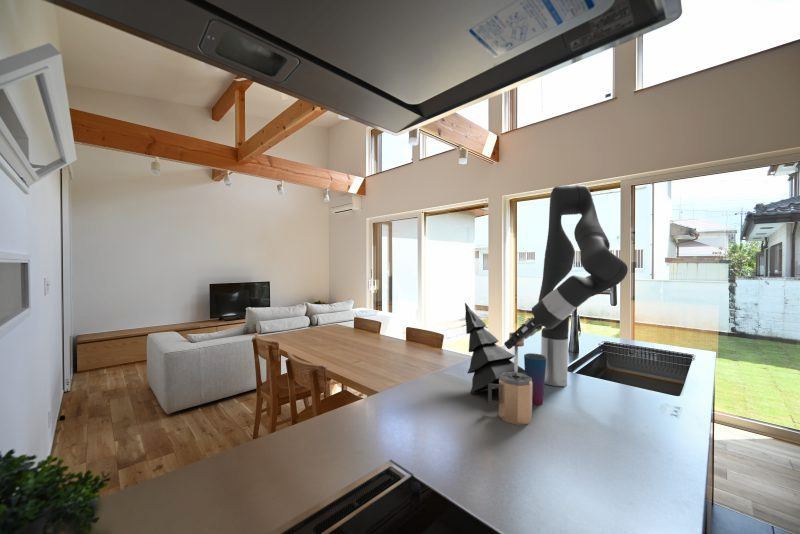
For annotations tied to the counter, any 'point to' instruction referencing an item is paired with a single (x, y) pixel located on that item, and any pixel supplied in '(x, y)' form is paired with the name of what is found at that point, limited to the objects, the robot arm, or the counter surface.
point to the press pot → (513, 398)
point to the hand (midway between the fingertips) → (509, 344)
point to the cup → (536, 375)
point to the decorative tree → (485, 355)
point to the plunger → (516, 354)
